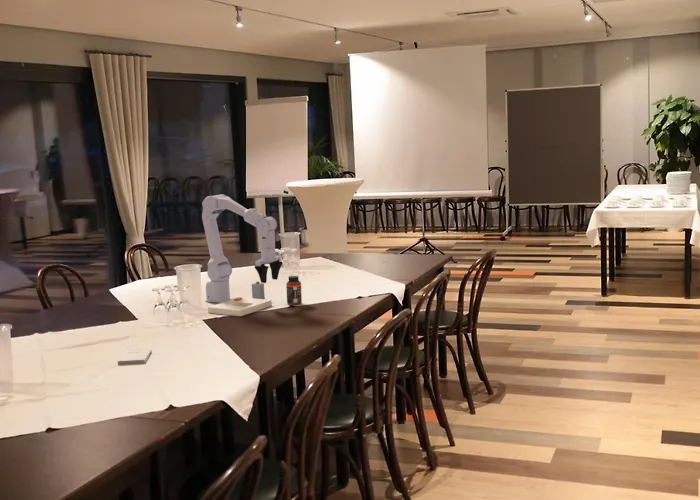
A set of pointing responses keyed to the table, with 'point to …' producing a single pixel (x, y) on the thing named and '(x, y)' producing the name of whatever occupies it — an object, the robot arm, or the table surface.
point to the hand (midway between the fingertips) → (269, 281)
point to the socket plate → (239, 306)
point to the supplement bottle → (294, 291)
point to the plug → (258, 290)
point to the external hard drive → (134, 356)
